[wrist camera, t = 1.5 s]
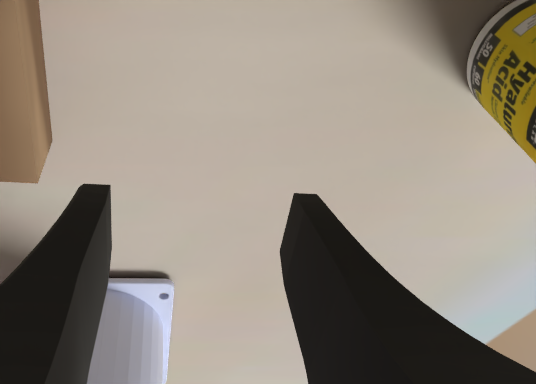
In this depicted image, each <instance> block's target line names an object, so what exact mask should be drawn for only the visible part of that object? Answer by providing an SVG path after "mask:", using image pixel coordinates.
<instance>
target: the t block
mask: <svg viewBox="0 0 536 384" xmlns="http://www.w3.org/2000/svg"><path fill="white" fill-rule="evenodd" d="M51 143H52V132H51V122H50V112H49V102H48V92H47V82H46V71H45V61H44V51H43V41H42V31H41V21H40V11H39V0H0V182H21V183H38V181H39V178H40V175H41V172H42V169H43V166H44V163H45V160H46V158H47V155H48V152H49V149H50V146H51Z"/></svg>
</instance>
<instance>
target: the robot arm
mask: <svg viewBox="0 0 536 384" xmlns="http://www.w3.org/2000/svg"><path fill="white" fill-rule="evenodd" d="M111 250H112V238H111V190H110V185H99V184H83V185H81V186H80V187H79V188H78V190H77V191H76V193H75V195H74V196H73V198H72V200H71V201H70V203H69V204H68V206H67V207H66V209H65V210H64V211H63V213H62V214H61V216H60V217H59V218H58V220H57V221H56V222H55V224H54V225H53V226H52V227H51V229H50V230H49V231H48V232H47V234H46V235H45V236H44V237H43V239H42V240H41V241H40V242H39V244H38V245H37V246H36V247H35V248H34V249H33V250H32V252H31V253H30V254H29V255H28V256H27V257H26V258H25V259H24V260H23V262H22V263H21V264H20V265H19V266H18V267H17V268H16V269H15V270H14V271H13V272H12V273H11V274H10V275H9V276H8V277H7V278H6V279H5V280H4V281H3V282H2V283H1V284H0V384H165V383H166V380H167V368H168V356H169V344H170V332H171V320H172V308H173V296H174V283H173V282H172V280H169V279H160V278H109V270H110V260H111ZM280 257H281V266H282V274H283V281H284V287H285V291H286V295H287V299H288V303H289V307H290V311H291V314H292V318H293V322H294V326H295V329H296V333H297V337H298V341H299V344H300V348H301V352H302V356H303V359H304V364H305V369H306V373H307V378H308V384H536V372H534V371H532V370H530V369H529V368H526V367H525V366H523V365H521V364H519V363H517V362H515V361H513V360H511V359H510V358H508V357H506V356H504V355H502V354H500V353H498V352H496V351H495V350H493V349H492V348H490V347H488V346H487V345H485V344H483V343H482V342H480V341H478V340H477V339H475V338H473V337H472V336H470V335H469V334H467V333H466V332H464V331H463V330H461V329H460V328H458V327H456V326H455V325H453V324H452V323H451V322H449V321H448V320H446V319H445V318H444V317H442V316H441V315H439V314H438V313H437V312H435V311H434V310H432V309H431V308H430V307H429V306H427V305H426V304H425V303H423V302H422V301H421V300H419V299H418V298H417V297H416V296H415V295H414V294H412V293H411V292H410V291H409V290H408V289H406V288H405V287H404V286H403V285H402V284H400V283H399V282H398V281H397V280H396V279H395V278H394V277H393V276H391V275H390V274H389V273H388V272H387V271H386V270H385V269H384V268H383V267H382V266H381V265H380V264H379V263H378V262H377V261H376V260H375V259H374V258H373V257H372V256H371V255H370V254H369V253H368V252H367V251H366V250H365V249H364V248H363V247H362V246H361V245H360V243H359V242H358V241H357V240H356V239H355V238H354V237H353V236H352V235H351V233H350V232H349V231H348V230H347V229H346V228H345V227H344V225H343V224H342V223H341V222H340V221H339V220H338V219H337V217H336V216H335V215H334V214H333V213H332V211H331V210H330V209H329V208H328V207H327V206H326V204H325V203H324V202H323V201H322V200H321V199H320V197H319V196H318V195H317V194H299V193H294V195H293V199H292V203H291V208H290V212H289V216H288V220H287V224H286V228H285V232H284V236H283V240H282V244H281V248H280ZM162 293H167V294H162Z"/></svg>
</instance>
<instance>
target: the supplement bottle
mask: <svg viewBox="0 0 536 384" xmlns="http://www.w3.org/2000/svg"><path fill="white" fill-rule="evenodd" d="M467 80H468V84H469V88H470V90H471V92H472V94H473V95H474V97H475V98H476V99H477V101H478V102H479V103H480V104H481V105H482V107H483V108H484V109H485V110H486V111H487V112H488V113H489V114H490V115H491V116H492V117H493V118H494V119H495V120H496V121H497V122H498V123H499V124H500V126H501V127H502V128H503V129H504V130H505V131H506V132H507V133H508V134H509V135H510V136H511V137H512V138H513V140H514V141H515V142H516V143H517V144H518V145H519V146H520V147H521V148H522V149H523V150H524V151H525V152H526V153H527V155H528V156H529V157H530V158H531V159H532V160H533V161H534V162H535V163H536V0H516V1H514V2H512V3H511V4H509V5H507V6H506V7H504V8H503V9H502V10H500V11H499V12H498V13H497V14H496V15H495V16H493V17H492V18H491V19H490V20H489V21H488V22H487V24H486V25H485V26H484V27H483V29H482V30H481V31H480V33H479V34H478V36H477V38H476V39H475V41H474V43H473V45H472V48H471V51H470V54H469V58H468V63H467Z"/></svg>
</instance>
